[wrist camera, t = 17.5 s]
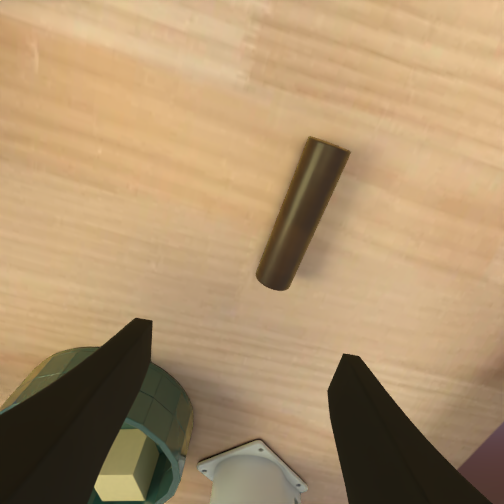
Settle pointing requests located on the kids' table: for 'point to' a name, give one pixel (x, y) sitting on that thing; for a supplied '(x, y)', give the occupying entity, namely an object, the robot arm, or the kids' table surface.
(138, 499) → the cream block
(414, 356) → the kids' table surface
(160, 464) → the bowl
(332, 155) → the dark brown cylinder
